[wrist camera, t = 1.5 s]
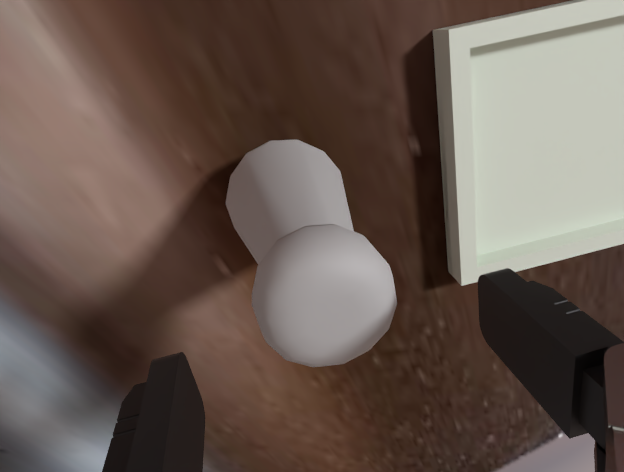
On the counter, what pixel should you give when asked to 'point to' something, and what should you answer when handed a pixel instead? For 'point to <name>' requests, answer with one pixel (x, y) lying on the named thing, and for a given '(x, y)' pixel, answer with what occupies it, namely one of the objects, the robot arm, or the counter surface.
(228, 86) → the counter surface
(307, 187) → the salt shaker
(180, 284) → the counter surface
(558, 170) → the tray
